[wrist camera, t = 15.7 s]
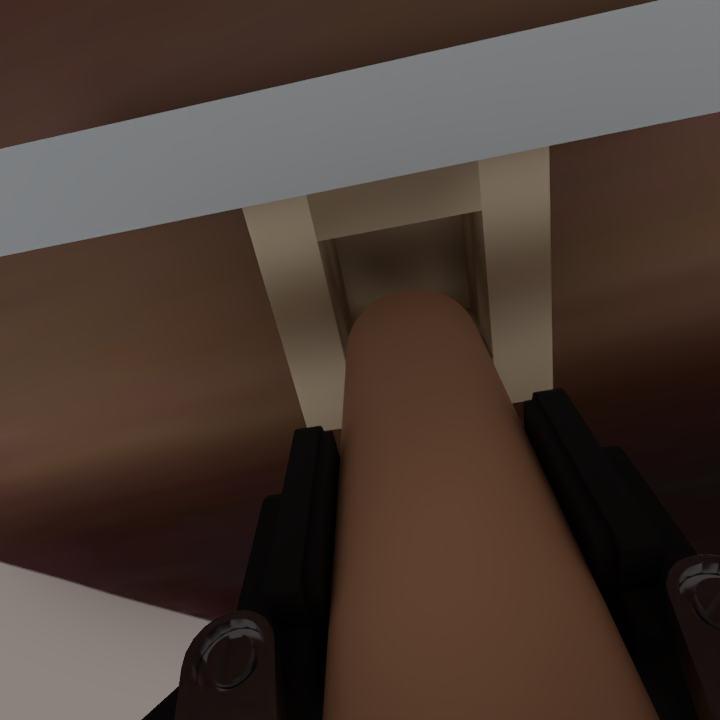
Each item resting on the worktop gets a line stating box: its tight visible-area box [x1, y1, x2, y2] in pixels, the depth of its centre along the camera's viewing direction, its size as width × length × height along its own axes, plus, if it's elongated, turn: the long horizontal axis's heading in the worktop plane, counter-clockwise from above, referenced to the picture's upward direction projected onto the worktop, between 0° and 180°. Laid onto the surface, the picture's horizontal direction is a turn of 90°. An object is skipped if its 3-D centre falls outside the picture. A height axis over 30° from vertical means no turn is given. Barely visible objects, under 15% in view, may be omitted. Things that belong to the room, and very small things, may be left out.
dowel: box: [322, 289, 660, 720], centre depth 9 cm, size 4×4×14 cm
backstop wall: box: [0, 0, 720, 256], centre depth 16 cm, size 2×22×10 cm, turn 101°
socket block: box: [242, 146, 553, 431], centre depth 21 cm, size 10×10×6 cm
